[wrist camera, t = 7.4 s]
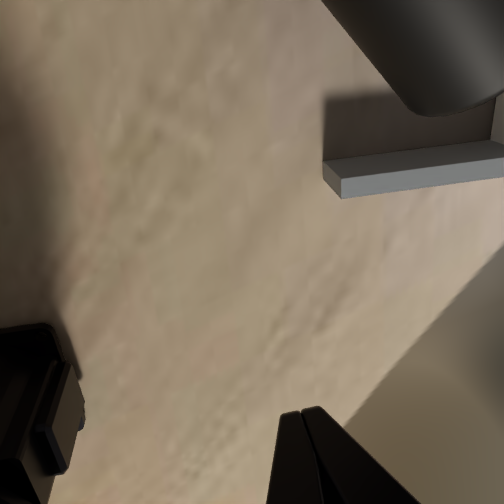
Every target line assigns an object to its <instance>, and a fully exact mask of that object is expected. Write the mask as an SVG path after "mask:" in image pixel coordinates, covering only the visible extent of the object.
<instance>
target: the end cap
mask: <svg viewBox="0 0 504 504" xmlns="http://www.w3.org/2000/svg"><path fill="white" fill-rule="evenodd" d="M321 1H322V2H323V3H324V5H325V6H326V7H327V8H328V10H329V11H330V12H331V13H332V14H333V16H334V17H335V18H336V19H337V21H338V22H339V23H340V24H341V26H342V27H343V28H344V29H345V31H346V32H347V33H348V34H349V36H350V37H351V38H352V39H353V40H354V42H355V43H356V44H357V45H358V47H359V48H360V49H361V50H362V52H363V53H364V54H365V55H366V57H367V58H368V59H369V60H370V62H371V63H372V64H373V65H374V67H375V68H376V69H377V70H378V71H379V73H380V74H381V75H382V76H383V78H384V79H385V80H386V81H387V83H388V84H389V85H390V86H391V88H392V89H393V90H394V91H395V93H396V94H397V95H398V96H399V97H400V99H401V100H402V101H403V102H404V104H405V105H406V106H407V107H408V109H410V110H411V111H413V112H414V113H416V114H417V115H421V116H426V117H438V116H447V115H451V114H455V113H460V112H462V111H465V110H468V109H471V108H473V107H476V106H479V105H481V104H483V103H485V102H487V101H489V100H491V99H493V98H495V97H497V96H499V95H501V94H502V93H504V0H321Z"/></svg>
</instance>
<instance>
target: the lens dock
mask: <svg viewBox="0 0 504 504" xmlns="http://www.w3.org/2000/svg"><path fill="white" fill-rule="evenodd" d="M500 177H504V93H502V94H501V95H499V96H497V97H496V104H495V111H494V118H493V124H492V131H491V138H490V140H483V141H475V142H467V143H459V144H452V145H444V146H436V147H428V148H420V149H413V150H405V151H397V152H389V153H381V154H374V155H366V156H358V157H350V158H342V159H335V160H327V161H323V179H324V181H325V182H326V183H327V184H328V185H329V186H330V187H331V188H332V189H333V190H334V192H335V193H336V194H337V195H338V196H339V197H340V198H341V199H345V198H352V197H360V196H367V195H374V194H382V193H389V192H396V191H404V190H411V189H419V188H426V187H433V186H441V185H448V184H455V183H463V182H470V181H477V180H485V179H492V178H500Z"/></svg>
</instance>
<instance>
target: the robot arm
mask: <svg viewBox="0 0 504 504" xmlns="http://www.w3.org/2000/svg"><path fill="white" fill-rule="evenodd" d="M38 333H44V334H46V335H47V336H46V337H45V336H41V335H39V334H38ZM84 404H85V401H84V398H83V395H82V392H81V389H80V386H79V383H78V380H77V377H76V374H75V371H74V368H73V365H72V364H71V363H70V362H68V361H66V360H65V357H64V355H63V352H62V349H61V346H60V343H59V340H58V337H57V335H56V332H55V329H54V328H53V327H52V326H51V325H50V324H46V323H37V324H31V325H24V326H17V327H11V328H4V329H0V504H48V501H49V497H50V494H51V490H52V486H53V483H54V479H55V476H56V475H62V474H64V473H65V472H66V471H67V469H68V468H69V464H70V460H71V456H72V452H73V448H74V444H75V440H76V436H77V432H78V431H80V430H82V429H83V427H84V424H85V420H86V419H85V415H84V412H83V408H84ZM266 504H421V503H420V502H419V501H417V499H415V497H414V496H413V495H411V494H410V493H409V492H408V491H407V490H406V489H405V488H404V487H403V486H402V485H401V484H400V483H399V482H398V481H397V480H396V479H395V478H394V477H393V476H392V475H391V474H390V473H389V472H388V471H387V470H386V469H385V468H384V467H383V466H381V464H380V463H378V461H376V459H374V458H373V457H372V456H371V455H370V454H369V453H368V452H367V451H366V450H365V449H364V448H363V447H362V446H361V445H360V444H359V443H358V442H357V441H356V440H355V439H354V438H353V437H352V436H351V435H350V434H349V433H348V432H346V430H345V429H344V428H343V427H342V426H340V425H339V424H338V423H337V422H336V421H335V420H334V419H333V418H332V417H331V416H330V415H329V414H328V413H327V412H326V411H325V410H324V409H323V408H322V407H320V406H314V407H310V408H305V409H303V410H302V411H301V413H300V411H292V412H288V413H283V414H282V415H281V416H280V420H279V426H278V432H277V439H276V445H275V451H274V457H273V464H272V470H271V476H270V482H269V489H268V495H267V501H266Z"/></svg>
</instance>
